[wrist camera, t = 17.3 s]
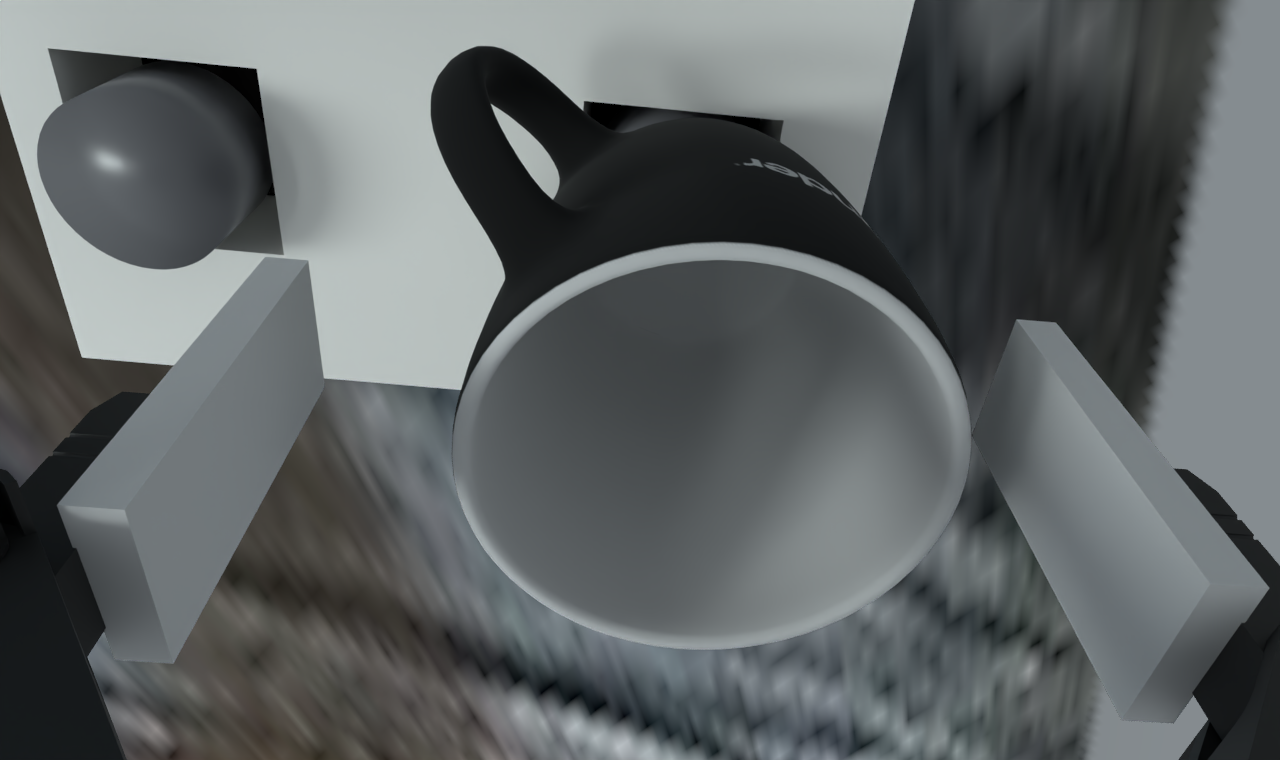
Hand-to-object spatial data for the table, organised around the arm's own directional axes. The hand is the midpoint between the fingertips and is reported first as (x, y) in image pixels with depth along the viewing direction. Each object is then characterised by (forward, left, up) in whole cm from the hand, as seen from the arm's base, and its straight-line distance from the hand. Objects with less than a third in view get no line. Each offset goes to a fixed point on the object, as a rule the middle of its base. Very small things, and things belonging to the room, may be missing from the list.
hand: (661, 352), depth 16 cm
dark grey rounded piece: (-13, 0, -9) cm, 15 cm away
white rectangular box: (-6, 0, -12) cm, 13 cm away
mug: (0, 0, -8) cm, 8 cm away
